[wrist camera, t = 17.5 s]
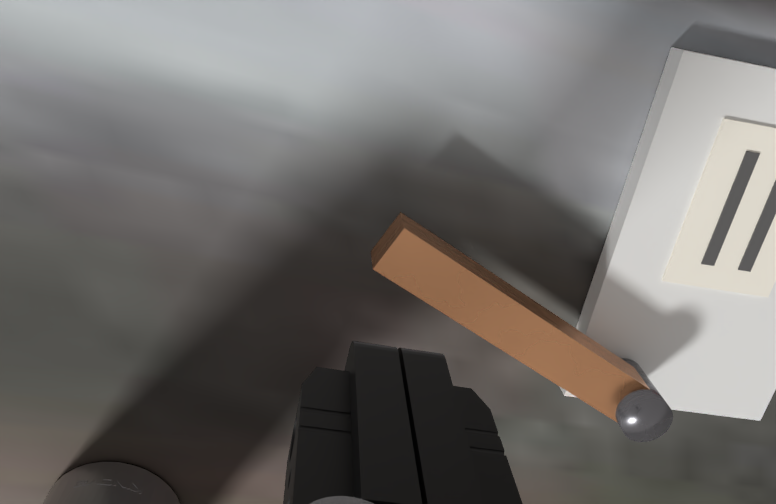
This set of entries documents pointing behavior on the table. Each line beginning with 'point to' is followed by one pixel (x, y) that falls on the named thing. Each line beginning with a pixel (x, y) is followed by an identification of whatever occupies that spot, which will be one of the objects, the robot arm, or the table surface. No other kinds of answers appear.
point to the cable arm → (520, 327)
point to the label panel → (697, 242)
